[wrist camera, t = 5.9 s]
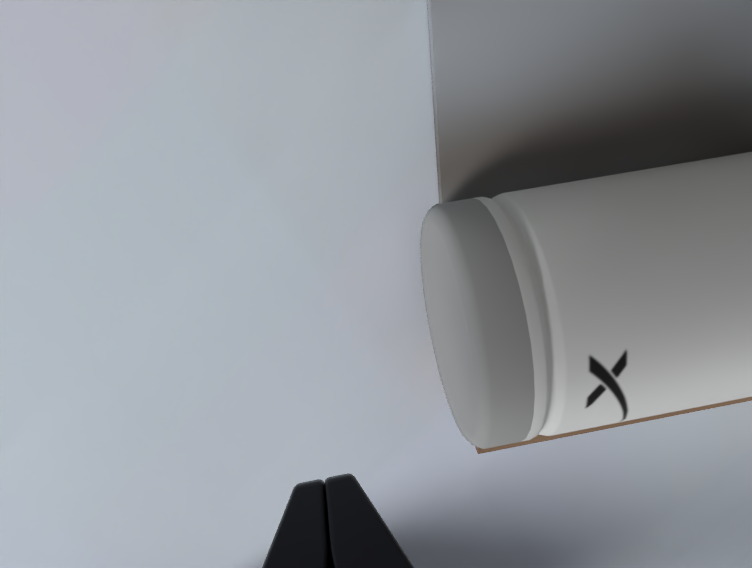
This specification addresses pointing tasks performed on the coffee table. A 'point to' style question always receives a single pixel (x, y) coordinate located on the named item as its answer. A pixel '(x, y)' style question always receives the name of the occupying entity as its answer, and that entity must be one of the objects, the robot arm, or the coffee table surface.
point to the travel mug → (592, 299)
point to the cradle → (585, 95)
